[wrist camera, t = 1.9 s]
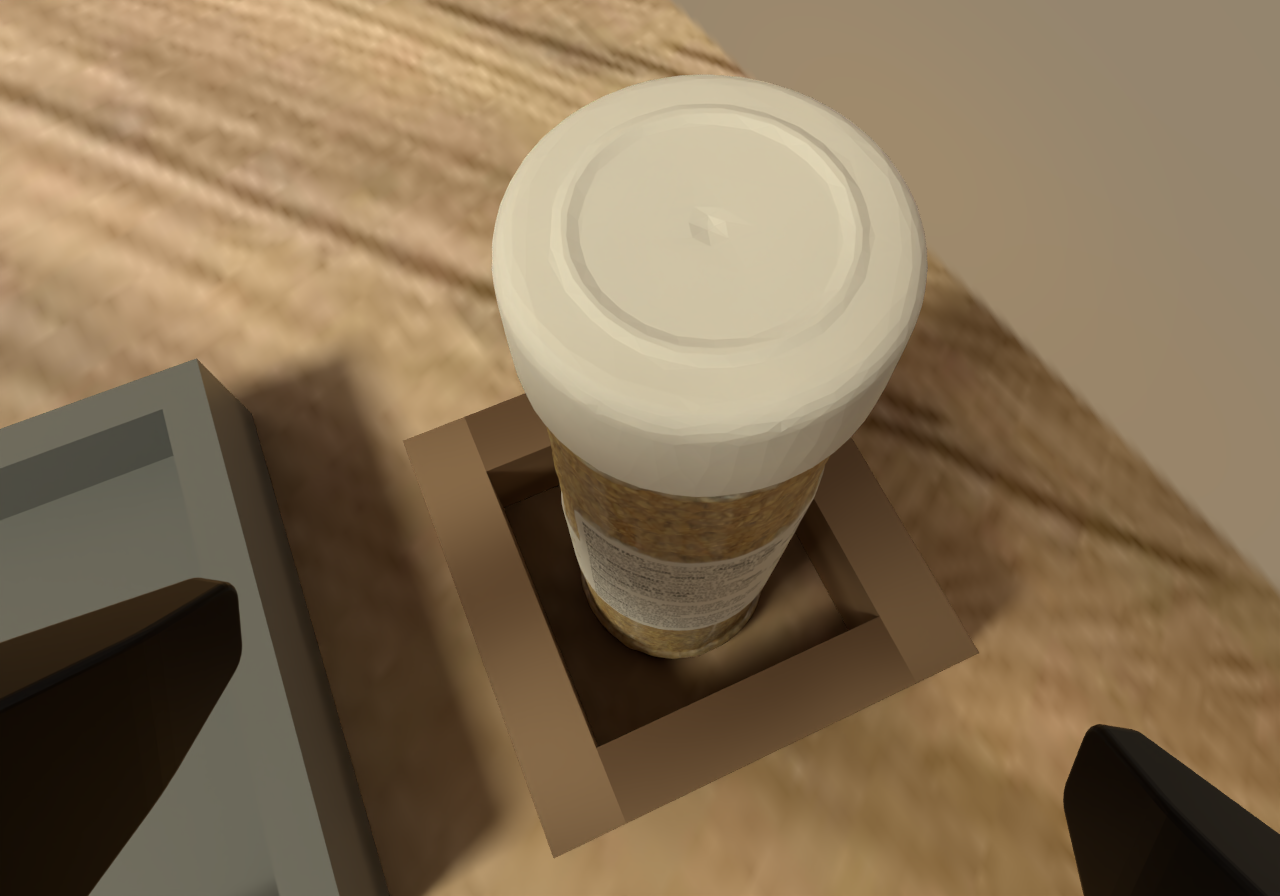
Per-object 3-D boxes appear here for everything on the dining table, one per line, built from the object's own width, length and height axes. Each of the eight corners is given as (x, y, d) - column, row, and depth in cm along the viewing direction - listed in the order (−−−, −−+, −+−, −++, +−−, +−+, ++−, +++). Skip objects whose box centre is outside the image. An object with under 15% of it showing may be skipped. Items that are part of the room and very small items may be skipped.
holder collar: (940, 670, 20) (979, 653, 17) (565, 852, 18) (553, 858, 16) (756, 349, 23) (768, 298, 21) (428, 480, 22) (403, 441, 19)
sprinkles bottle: (621, 460, 22) (590, 10, 10) (789, 521, 21) (987, 122, 9) (550, 623, 20) (401, 333, 8) (729, 695, 20) (871, 501, 7)
